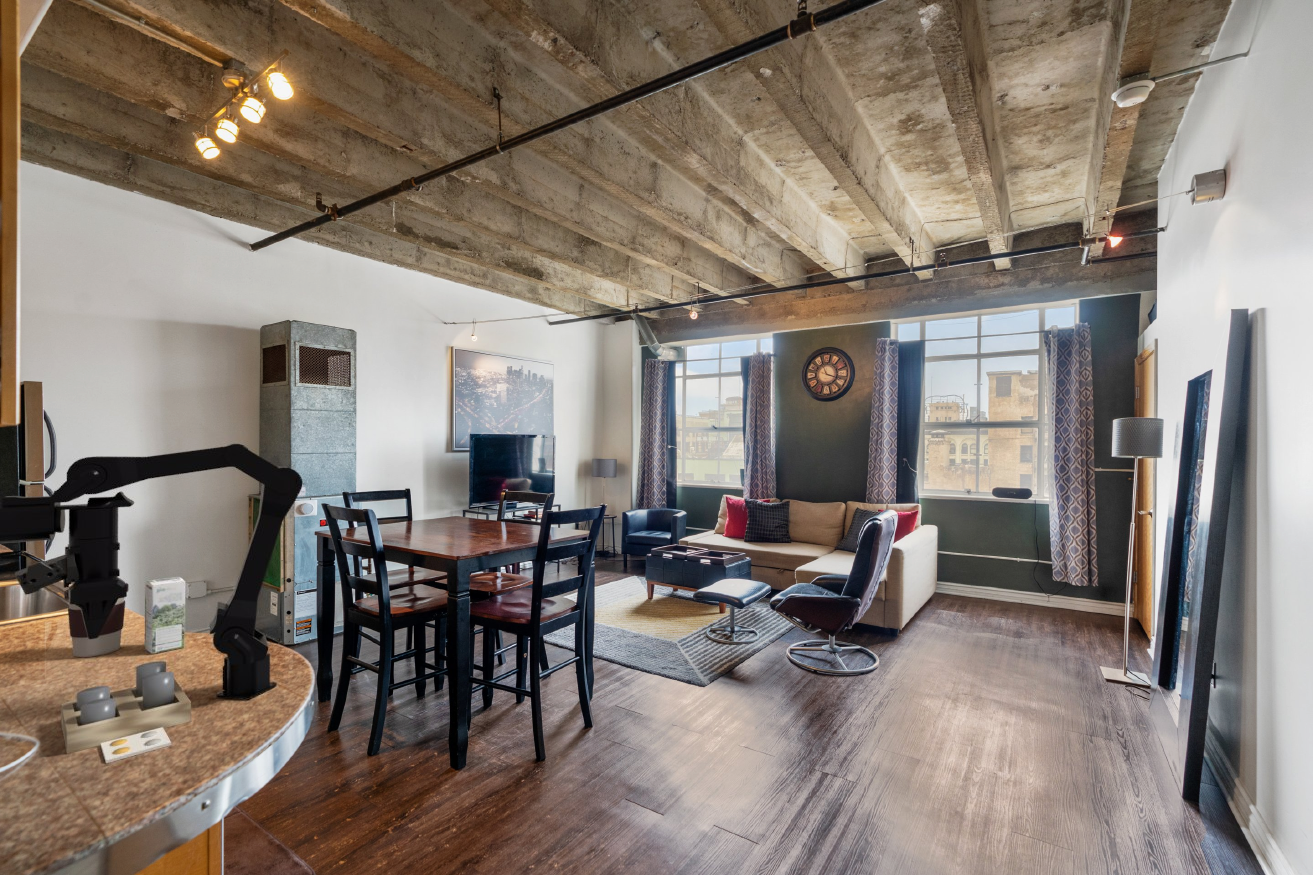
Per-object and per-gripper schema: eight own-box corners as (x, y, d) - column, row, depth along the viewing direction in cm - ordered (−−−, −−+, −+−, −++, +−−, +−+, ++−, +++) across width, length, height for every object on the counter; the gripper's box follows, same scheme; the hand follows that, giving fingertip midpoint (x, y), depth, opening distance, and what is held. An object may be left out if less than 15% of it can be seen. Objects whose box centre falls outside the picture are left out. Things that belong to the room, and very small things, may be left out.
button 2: (113, 723, 95) (113, 696, 95) (116, 731, 92) (116, 703, 92) (79, 731, 92) (79, 703, 92) (81, 740, 89) (81, 711, 89)
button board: (174, 696, 107) (174, 678, 107) (190, 721, 97) (190, 701, 97) (61, 722, 97) (61, 703, 97) (66, 753, 87) (66, 731, 87)
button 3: (164, 684, 105) (164, 659, 105) (168, 690, 102) (168, 664, 102) (134, 690, 102) (134, 665, 102) (137, 697, 99) (138, 671, 99)
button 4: (171, 695, 100) (171, 669, 100) (176, 702, 97) (176, 675, 97) (140, 702, 97) (141, 676, 97) (144, 710, 94) (144, 682, 94)
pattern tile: (162, 729, 94) (162, 725, 94) (171, 745, 89) (171, 741, 89) (100, 745, 89) (100, 742, 89) (105, 763, 84) (105, 759, 84)
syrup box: (177, 642, 136) (177, 575, 136) (185, 647, 132) (185, 579, 133) (144, 649, 132) (144, 580, 132) (151, 655, 128) (151, 583, 128)
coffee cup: (90, 661, 124) (90, 585, 124) (50, 658, 126) (51, 583, 126) (140, 645, 134) (140, 575, 134) (103, 643, 136) (103, 573, 136)
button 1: (108, 709, 100) (108, 683, 100) (111, 716, 97) (111, 690, 97) (75, 717, 97) (76, 690, 97) (77, 724, 94) (77, 697, 94)
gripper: (19, 536, 98) (18, 637, 98) (20, 550, 85) (19, 666, 85) (113, 529, 106) (112, 622, 106) (127, 541, 93) (126, 647, 93)
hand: (93, 638), depth 97 cm, fingers closed
